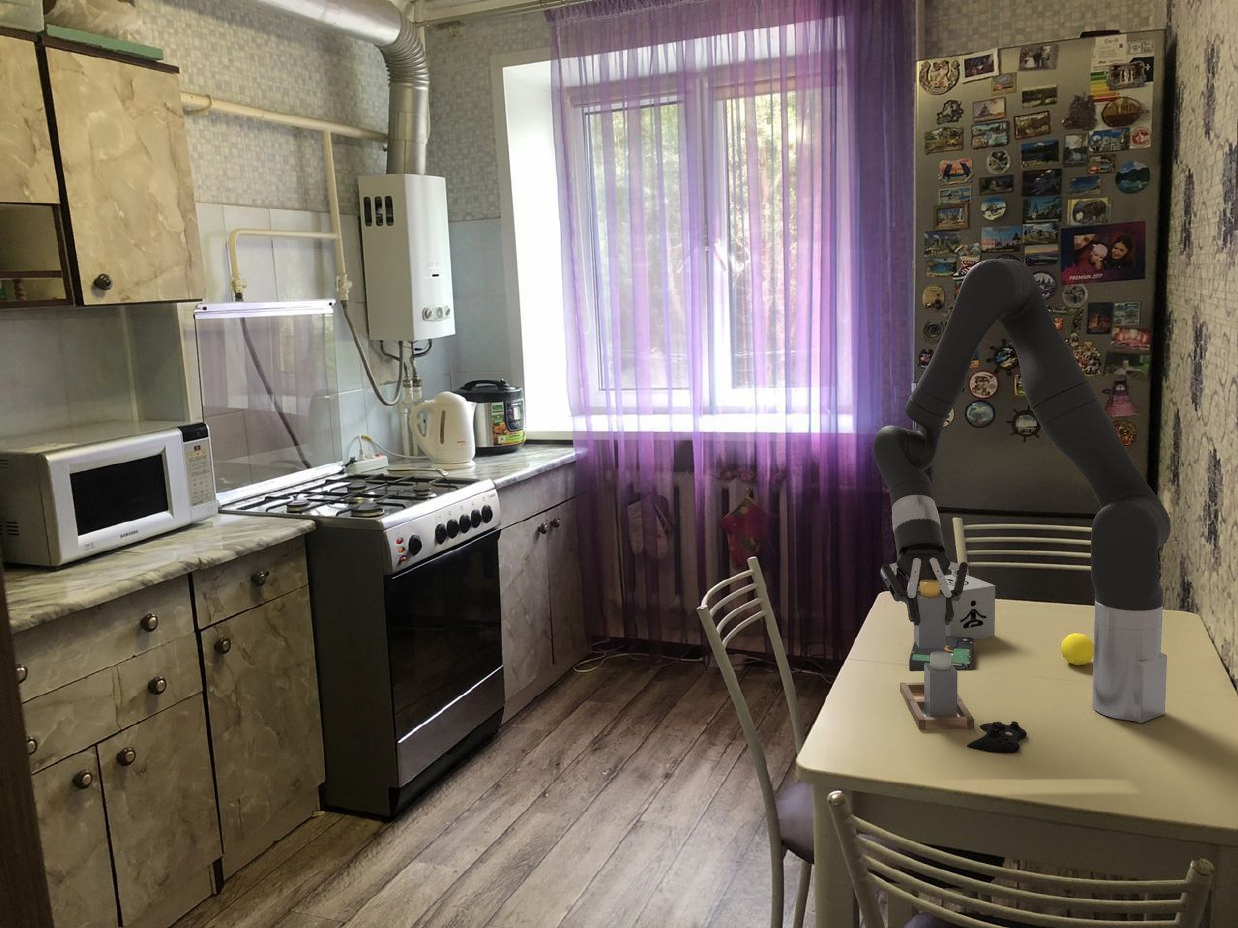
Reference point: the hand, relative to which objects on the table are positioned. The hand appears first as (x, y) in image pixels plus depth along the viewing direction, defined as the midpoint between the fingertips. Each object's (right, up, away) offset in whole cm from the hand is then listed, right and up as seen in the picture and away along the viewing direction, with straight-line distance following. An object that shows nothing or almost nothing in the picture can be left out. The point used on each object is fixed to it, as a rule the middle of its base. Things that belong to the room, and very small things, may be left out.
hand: (932, 622), depth 157 cm
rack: (+1, -15, +1) cm, 15 cm away
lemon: (+32, -10, +20) cm, 39 cm away
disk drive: (+9, -11, +25) cm, 29 cm away
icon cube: (+17, -8, +39) cm, 44 cm away
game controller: (+6, -17, -11) cm, 21 cm away
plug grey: (0, -14, -3) cm, 14 cm away
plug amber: (0, -4, +3) cm, 5 cm away
